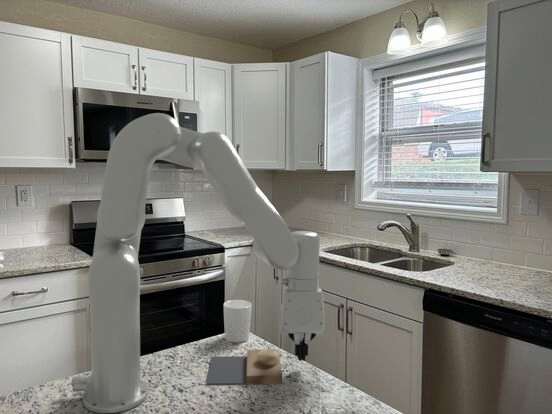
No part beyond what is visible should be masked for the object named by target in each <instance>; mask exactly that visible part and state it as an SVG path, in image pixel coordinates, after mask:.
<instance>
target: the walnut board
mask: <svg viewBox="0 0 552 414" xmlns="http://www.w3.org/2000/svg"><path fill="white" fill-rule="evenodd" d="M261 350H262V349H246V356H247V384H246V385H283V369H282V363H281V358H280V351H279V349H273V350H274V351H277V352H278V364H277V365H274V366H262V365H259V364H258V362H257V360H258V352H259V351H261Z"/></svg>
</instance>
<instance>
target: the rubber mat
mask: <svg viewBox="0 0 552 414" xmlns="http://www.w3.org/2000/svg"><path fill="white" fill-rule="evenodd" d="M210 358H211V359H210V362H209V363H210V364H209V369H208V373H207V377H206V382H205V385H206V386H210V385H212V386H213V385H215V386H216V385H218V386H221V385H222V386H225V385H226V386H228V385H248V384H247V355H246V356H241V355H240V356H237V355H236V356H211V357H210Z"/></svg>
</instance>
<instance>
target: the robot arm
mask: <svg viewBox="0 0 552 414" xmlns="http://www.w3.org/2000/svg"><path fill="white" fill-rule="evenodd" d="M157 159H158V160H163V161H165V162H169V163H172V164H175V165H180V166H184V167H188V168H192V169H196V170H199V171H200V170H201V171H202V173H203V174H204V176H205V178H206V180H208V182H209V184H210V186H211V187H212V188H213V191H214V192H215V193H216V195H217V197H218V198H219V200H220V201H221V203H222V205H223V206H224V207H225V209H226V210H227V211H228V212H229V213H230V214H231V215H232V217H234V218H236V220H237V221H239V222H240V224H242V225H243V226H244V227H245V228H246V230H247V231H248V232H249V233H250V235H251V236H252V237H253V239H254V240H253V242H252V251H253V253H254V255H255V256H256V257H257V259H258V260H260V261H262V262H263V263H265V264H267V265H269V266H270V267H271V268H273V269H275V270H278V271H285V270H286V277H284V278H280V284H281V285H284V286H285V287H284V289H283V294H282V297H281V298H282V299H281V306H280V307H281V309H280V328H279V335H280V336H284V337H289V338H290V339H291V340H292V341H293V342H294V355H295V357H297V360H298V361H299V362H302V361H304V362H305V361H306V356H309V345H310V343H311V341H313V340H314V339H315V338H316V337H318V336H323V335H325V331H324V330H325V308H324V307H325V304H324V294H323V289H321V288H320V287H319V283H320V279H319V277H320V245H321V244H320V242H321V241H320V236H319V234H318V233H316V232H314V231H310V230H309V231H308V230H298V231H292V232H291V230H290V229H289V227H288V226H287V223H286V221H285V220H284V219H283V217H282V216H281V215H280V213H279V212H278V211H277V210H276V208H275V206H273V204H272V203H271V202H270V201H269V199H268V198H267V197H266V195H265V194H264V192H262V191H261V189H260V188H259V186H258V185H257V183H256V182H255V181H254V179H253V176H252V174H250V172H249V170H248V168H247V167H246V166H245V164H244V162H243V160H242V159H241V157H240V155H239V154H238V152H237V150H236V149H235V147H234V146H233V144H232V143H231V141H230V138H228V137H227V136H226V135H225V134H223V133H222V132H219V131H208V132H207V131H206V132H200V131H195V130H192V129H189V128H185V127H181V126H180V125H179V123H178V122H177V120H176V119H175V118H174V117H172V116H171V115H169V114H166V113H163V112H161V113H160V112H156V113H155V112H154V113H149V114H146V115H143V116H140V117H138V118H135V119H134V120H132V121H130V122H129V123H127V124H126V125H125V126H124V127H123V128H122V129H120V131H119V132H118V133H117V135H116V136H115V138H114V140H113V141H112V143H111V145H110V149H109V152H108V155H107V160H106V165H105V171H104V177H103V183H102V189H101V190H102V191H101V196H100V202H99V206H98V209H97V211H96V212H97V213H96V219H97V221H96V228H95V237H94V245H93V253H92V259H91V261H90V264H89V269H88V276H87V277H88V278H87V279H88V281H87V283H88V298H89V299H88V300H89V326H90V327H89V328H90V364H91V365H90V367H91V368H90V371H91V374H89V375H88V376H86V377H85V376H73V377H72V379H71V383H70V385H71V386H72V391H73V392H84V395H83V396H82V397H83V399H82V401H83V402H82V403H83V406H84V407H85V408H86V409H87V410H88V411H91V412H94V413H97V414H113V413H114V414H115V413H119V412H120V413H121V412H124V411H127V410H130V409H133V408H135V407H137V406H138V405H140V404H141V403H143V402H144V401H145V400H146V398H147V397H148V395H149V387H148V385H147V383H146V382H144V381H143V380H141V324H140V323H141V322H140V318H141V317H140V307H141V305H140V304H141V303H140V302H141V301H140V297H141V296H140V295H141V294H140V292H141V291H140V290H141V267H140V263H139V251H140V243H141V234H142V229H143V228H144V225H145V222H146V204H147V203H146V201H147V194H148V193H147V192H148V187H149V182H150V176H151V171H152V167H153V165H154V163H155V161H156V160H157ZM300 334H303V337H302V339H301V338H300Z"/></svg>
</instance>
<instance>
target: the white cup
mask: <svg viewBox="0 0 552 414" xmlns="http://www.w3.org/2000/svg"><path fill="white" fill-rule="evenodd" d="M251 317H252V302H250V301H248V300H244V299H232V300H228V301H225V302H224V303H223V324H224V325H223V326H224V336H225V337H224V339H225V340H226V342H231V343H235V344H236V343H243V342H246V341H248V340H249V339H250V328H251Z"/></svg>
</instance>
